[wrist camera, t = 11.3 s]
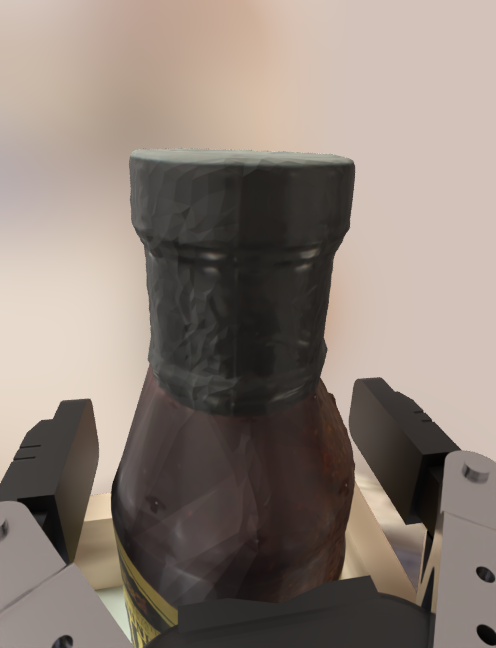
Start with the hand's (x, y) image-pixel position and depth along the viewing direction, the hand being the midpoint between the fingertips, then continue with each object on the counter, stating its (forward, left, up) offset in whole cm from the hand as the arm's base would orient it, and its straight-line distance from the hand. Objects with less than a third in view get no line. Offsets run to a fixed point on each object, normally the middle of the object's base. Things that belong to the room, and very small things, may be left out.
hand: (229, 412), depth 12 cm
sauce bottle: (0, -2, -13) cm, 13 cm away
